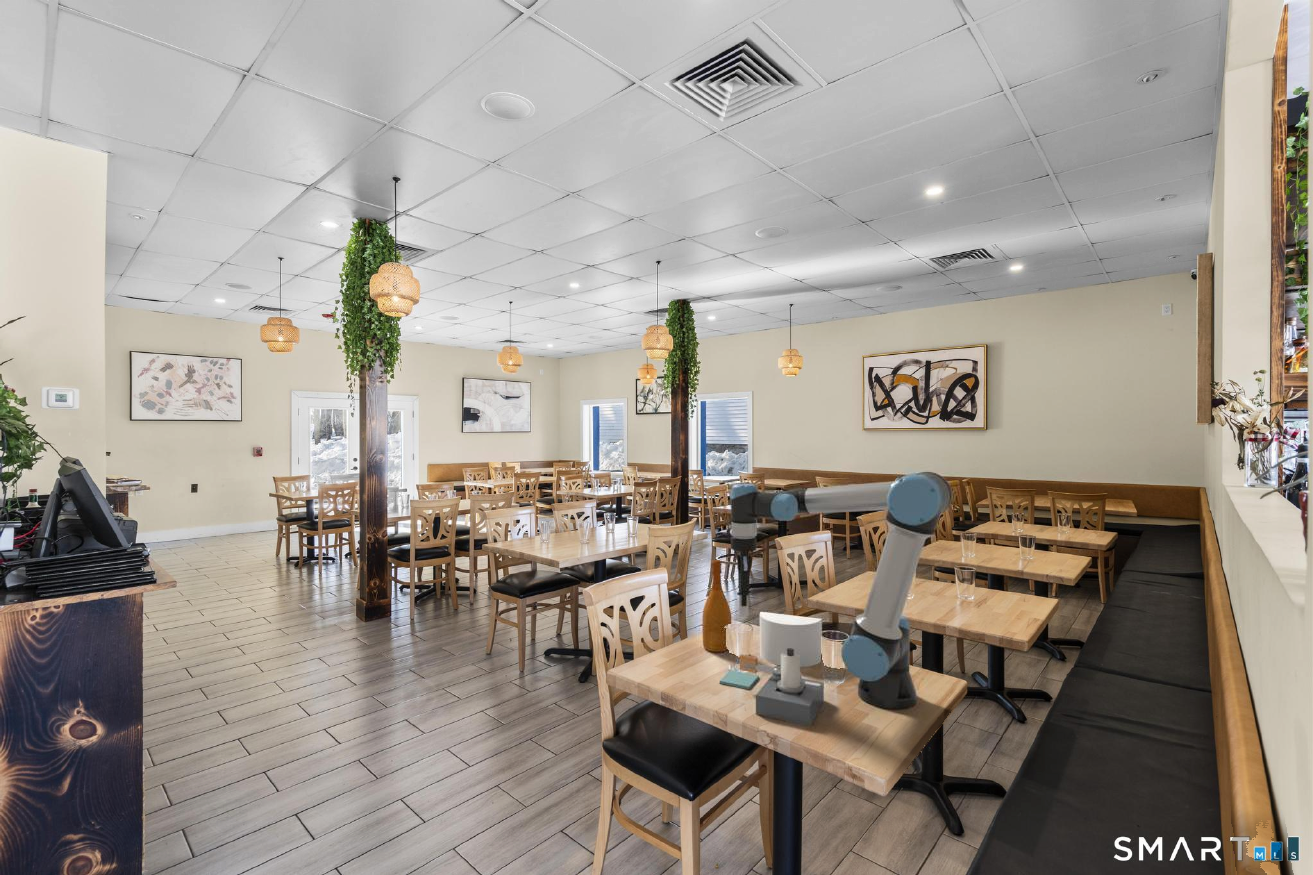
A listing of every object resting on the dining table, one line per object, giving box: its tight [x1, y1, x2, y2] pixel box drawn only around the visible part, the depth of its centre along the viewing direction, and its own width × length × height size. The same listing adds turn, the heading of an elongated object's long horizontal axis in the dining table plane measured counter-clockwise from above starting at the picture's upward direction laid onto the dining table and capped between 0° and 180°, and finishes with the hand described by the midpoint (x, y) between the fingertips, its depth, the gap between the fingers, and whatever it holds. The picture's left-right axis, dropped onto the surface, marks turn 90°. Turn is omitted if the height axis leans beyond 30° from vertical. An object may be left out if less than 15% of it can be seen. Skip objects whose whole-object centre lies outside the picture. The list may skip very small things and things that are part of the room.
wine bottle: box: [701, 559, 732, 653], centre depth 206 cm, size 10×10×30 cm
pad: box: [719, 669, 760, 690], centre depth 179 cm, size 9×9×1 cm
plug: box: [777, 648, 804, 696], centre depth 162 cm, size 7×7×16 cm
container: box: [759, 611, 823, 668], centre depth 199 cm, size 20×20×13 cm
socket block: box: [755, 674, 825, 727], centre depth 162 cm, size 14×16×6 cm
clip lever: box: [739, 653, 803, 680], centre depth 169 cm, size 18×3×4 cm, turn 56°
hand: (743, 615), depth 180 cm, fingers closed
